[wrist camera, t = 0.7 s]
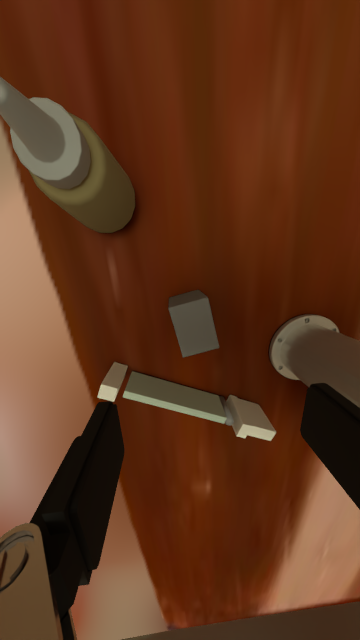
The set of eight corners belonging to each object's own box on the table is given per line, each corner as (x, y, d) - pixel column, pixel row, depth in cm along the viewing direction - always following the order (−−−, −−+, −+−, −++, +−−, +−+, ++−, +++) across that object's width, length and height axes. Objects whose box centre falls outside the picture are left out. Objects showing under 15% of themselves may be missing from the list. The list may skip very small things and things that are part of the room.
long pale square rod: (225, 397, 36) (235, 419, 31) (221, 406, 36) (229, 430, 31) (132, 370, 33) (124, 390, 28) (128, 381, 34) (121, 402, 28)
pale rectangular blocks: (259, 403, 37) (278, 433, 30) (253, 413, 38) (271, 445, 31) (114, 361, 33) (100, 385, 26) (110, 373, 33) (95, 400, 27)
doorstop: (198, 289, 30) (207, 297, 22) (207, 328, 32) (219, 347, 24) (169, 297, 30) (168, 308, 23) (180, 335, 32) (182, 357, 25)
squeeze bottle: (144, 182, 26) (89, 6, 8) (135, 243, 28) (77, 204, 10) (84, 166, 25) (-116, -69, 7) (80, 230, 27) (-84, 163, 10)
